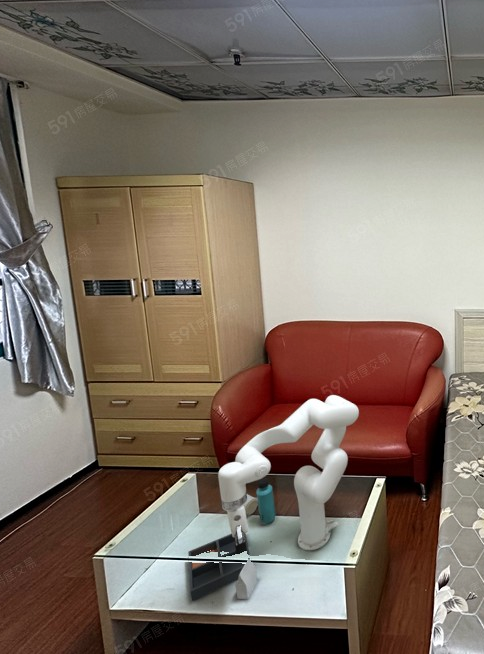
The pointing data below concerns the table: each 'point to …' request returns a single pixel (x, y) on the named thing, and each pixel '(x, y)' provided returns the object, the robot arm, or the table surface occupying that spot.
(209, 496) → the table surface
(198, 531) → the table surface
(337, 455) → the robot arm
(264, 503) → the beverage bottle
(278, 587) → the table surface
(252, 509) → the ceramic mug
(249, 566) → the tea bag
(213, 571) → the tray
